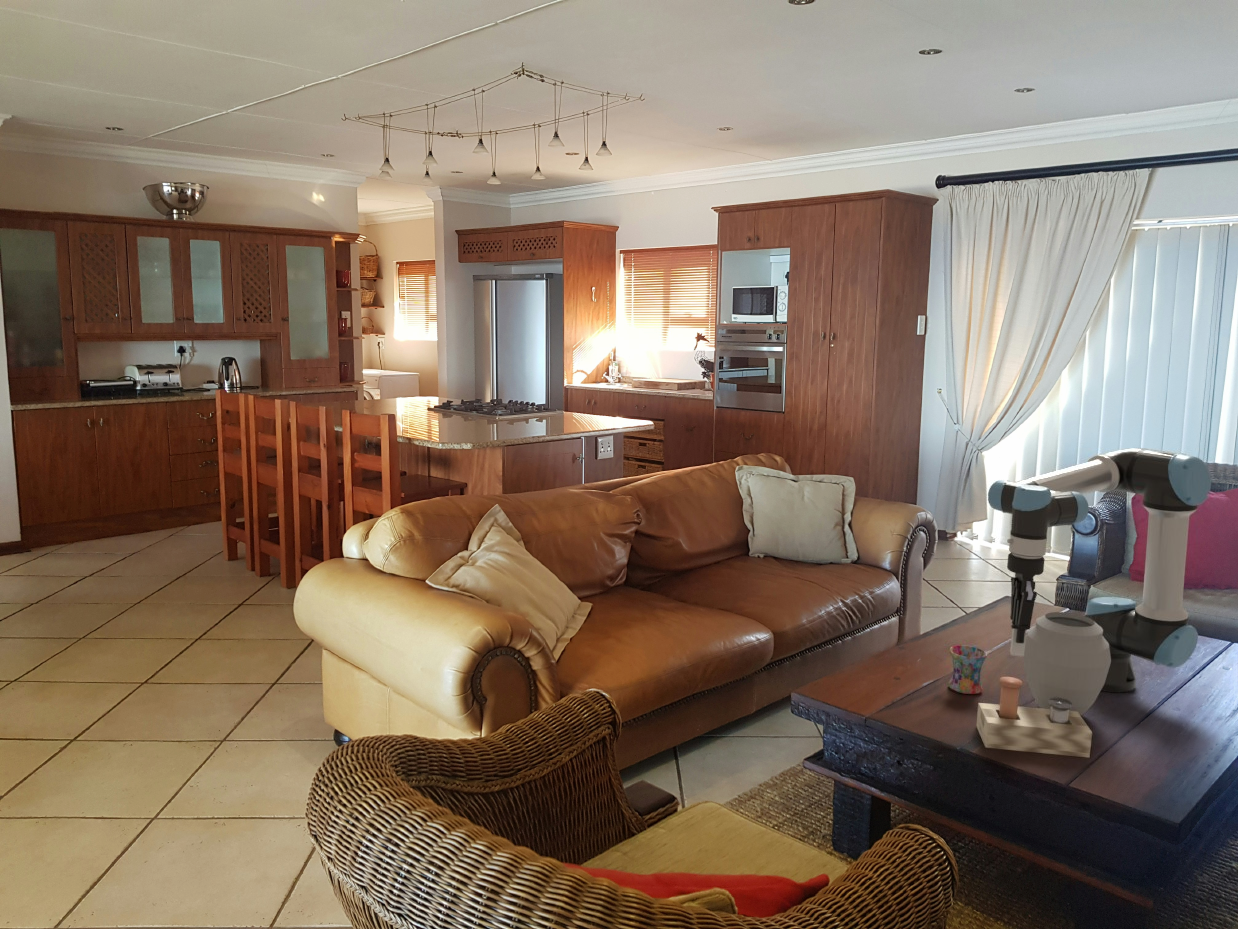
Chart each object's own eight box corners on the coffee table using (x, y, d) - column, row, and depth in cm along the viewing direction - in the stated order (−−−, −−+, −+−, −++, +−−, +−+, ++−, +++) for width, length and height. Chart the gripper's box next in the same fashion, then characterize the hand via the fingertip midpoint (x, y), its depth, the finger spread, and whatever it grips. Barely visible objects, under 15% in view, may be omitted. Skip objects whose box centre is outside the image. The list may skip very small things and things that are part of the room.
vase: (1100, 738, 214) (1111, 639, 210) (1011, 718, 224) (1020, 622, 220) (1107, 708, 230) (1117, 615, 226) (1024, 690, 240) (1032, 601, 236)
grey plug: (1065, 734, 212) (1068, 698, 211) (1071, 743, 207) (1074, 707, 206) (1043, 732, 213) (1046, 696, 212) (1048, 741, 208) (1052, 705, 207)
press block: (1075, 735, 215) (1077, 711, 214) (1089, 757, 204) (1092, 732, 203) (976, 726, 219) (978, 702, 218) (985, 747, 208) (987, 722, 207)
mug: (973, 700, 234) (977, 660, 232) (940, 689, 241) (942, 650, 239) (995, 687, 242) (998, 649, 240) (961, 677, 249) (964, 640, 247)
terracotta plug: (1016, 713, 214) (1019, 677, 212) (1021, 722, 209) (1024, 686, 207) (994, 711, 214) (997, 676, 213) (999, 720, 210) (1002, 684, 208)
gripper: (1002, 546, 212) (993, 643, 216) (1015, 560, 199) (1006, 663, 203) (1036, 548, 211) (1027, 646, 214) (1052, 563, 198) (1042, 666, 202)
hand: (1016, 654), depth 209 cm, fingers closed
